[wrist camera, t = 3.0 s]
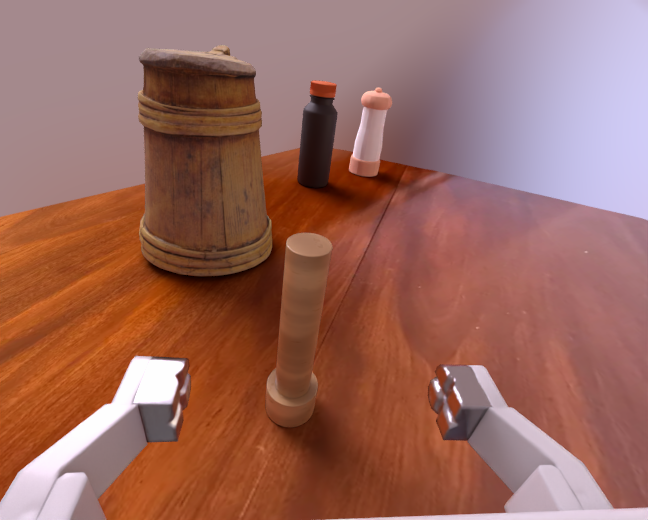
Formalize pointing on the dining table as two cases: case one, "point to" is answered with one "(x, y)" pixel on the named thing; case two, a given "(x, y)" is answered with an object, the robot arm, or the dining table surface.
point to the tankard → (202, 163)
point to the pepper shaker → (370, 134)
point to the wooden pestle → (298, 330)
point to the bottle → (317, 135)
